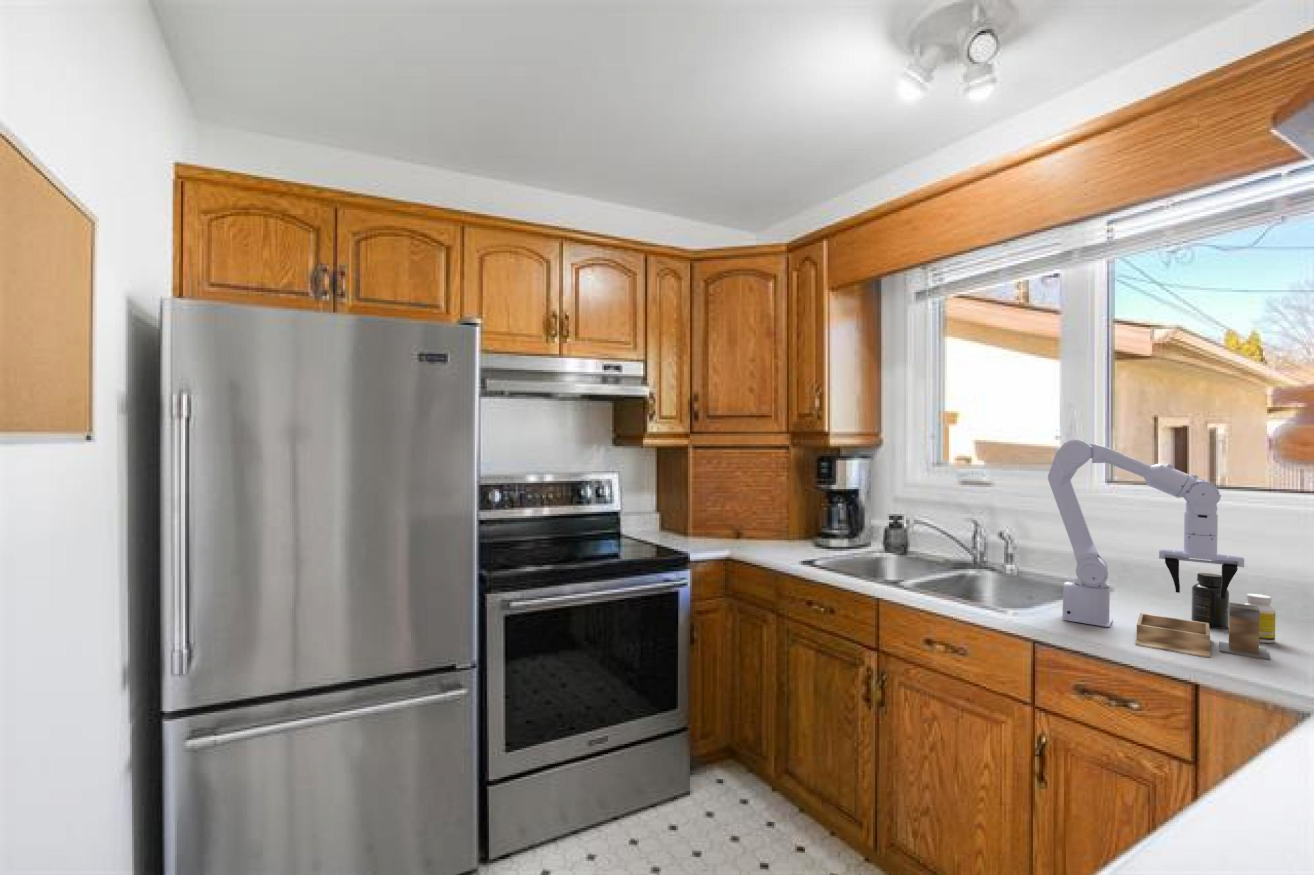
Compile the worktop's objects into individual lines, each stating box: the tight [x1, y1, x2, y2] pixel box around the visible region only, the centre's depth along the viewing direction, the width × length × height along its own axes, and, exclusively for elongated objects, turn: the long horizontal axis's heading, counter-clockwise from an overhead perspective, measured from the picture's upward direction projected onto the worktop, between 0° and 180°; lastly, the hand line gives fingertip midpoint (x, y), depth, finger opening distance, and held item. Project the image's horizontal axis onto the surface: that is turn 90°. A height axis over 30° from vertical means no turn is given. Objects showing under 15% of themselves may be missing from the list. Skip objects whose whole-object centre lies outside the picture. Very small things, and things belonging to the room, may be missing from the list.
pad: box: [1218, 641, 1271, 661], centre depth 134 cm, size 8×8×1 cm
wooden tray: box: [1134, 612, 1211, 658], centre depth 142 cm, size 12×20×4 cm, turn 140°
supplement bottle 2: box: [1244, 593, 1276, 644], centre depth 142 cm, size 5×5×10 cm
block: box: [1228, 602, 1260, 655], centre depth 134 cm, size 4×4×9 cm
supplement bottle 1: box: [1191, 572, 1230, 629], centre depth 154 cm, size 7×7×12 cm
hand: (1199, 594), depth 144 cm, fingers open, 7 cm apart
